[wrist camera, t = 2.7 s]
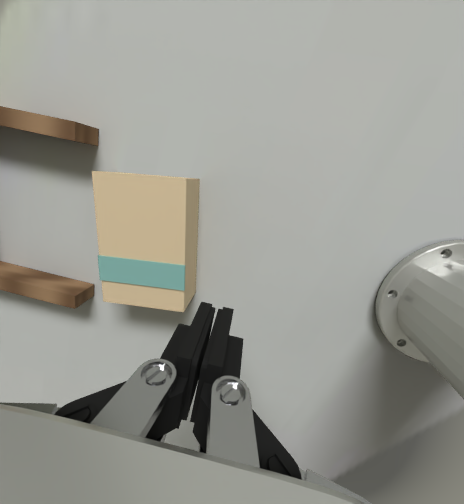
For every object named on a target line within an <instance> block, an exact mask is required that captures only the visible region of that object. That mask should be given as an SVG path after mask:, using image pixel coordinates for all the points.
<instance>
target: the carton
mask: <svg viewBox="0 0 464 504" xmlns="http://www.w3.org/2000/svg"><path fill="white" fill-rule="evenodd" d="M92 179H93V190H94V201H95V213H96V224H97V235H98V246H99V255H98V264H99V275H100V280H102V291H103V301H104V302H112V303H119V304H126V305H134V306H141V307H149V308H156V309H164V310H171V311H178V312H184V311H185V309H186V308H187V306H188V304H189V303H190V301H191V299H192V298H193V296H194V294H195V293H196V266H197V237H198V209H199V180H200V179H194V178H182V177H169V176H157V175H145V174H133V173H120V172H102V171H92Z"/></svg>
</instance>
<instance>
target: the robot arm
mask: <svg viewBox="0 0 464 504" xmlns="http://www.w3.org/2000/svg"><path fill="white" fill-rule="evenodd" d="M233 310H234V309H230V308H226V307H223V310H222V309H218V312H217V316H216V319H215V322H214V325H213V329H212V332H211V327H212V323H213V318H214V313H215V308H214V307H212V304H209V303H205V302H201V304H200V306H199V308H198V311H197V313H196V315H195V317H194V319H193V321H192V324H191V326H188V325H184V324H179V325H178V327H177V328H176V330H175V332H174V334H173V336H172V337H171V339H170V341H169V343H168V345H167V347H166V348H165V350H164V352H163V354H162V356H161V358H160V359H152V360H148V361H146V362H144V363H143V364H142V365H141V366H140V367H139V368H138V369H137V370H136V371H135V372H134V374H133V375H132V376H131V377H130V378H129V379H128V380H127V381H126V382H123V383H120V384H118V385H115V386H112V387H110V388H107V389H104V390H102V391H99V392H96V393H94V394H91V395H88V396H86V397H83V398H80V399H78V400H75V401H72V402H70V403H68V404H66V405H64V406H63V407H62V408H58V407H57V404H43V403H0V504H372V503H371V502H369V501H368V500H366V499H365V498H363V497H361V496H359V495H357V494H355V493H353V492H352V491H350V490H348V489H346V488H344V487H342V486H340V485H338V484H336V483H334V482H332V481H330V480H329V479H327V478H325V477H323V476H321V475H319V474H317V473H315V472H313V471H311V470H309V469H307V470H306V472H305V471H303V470H301V469H299V467H298V465H297V464H296V462H295V461H294V459H293V458H292V456H291V455H290V454H289V453H288V452H287V450H286V449H285V448H284V447H283V446H282V444H281V443H280V442H279V441H278V440H277V438H276V437H275V436H274V435H273V433H272V432H271V431H270V430H269V429H268V427H267V426H266V425H265V424H264V423H263V421H262V420H261V419H260V418H259V417H258V415H257V414H256V413H255V412H254V411H253V409H252V404H251V396H250V392H249V388H248V387H247V385H246V384H245V383H244V382H243V381H242V380H240V369H241V358H242V348H243V339H242V338H238V337H234V336H230V335H229V331H230V326H231V320H232V315H233ZM376 317H377V322H378V325H379V327H380V329H381V331H382V333H383V334H384V335H385V337H386V338H387V339H388V341H389V342H390V343H391V344H392V345H393V346H394V347H395V348H396V349H397V350H399V351H400V352H402V353H403V354H405V355H407V356H409V357H411V358H413V359H416V360H419V361H423V362H427V363H431V364H432V365H433V366H434V367H435V368H436V369H437V371H438V372H439V373H440V374H441V375H442V376H443V377H444V378H445V379H446V380H447V381H448V383H449V384H450V385H451V386H452V387H453V388H454V389H455V390H456V391H457V392H458V394H459V395H460V396H461V397H462V398H463V399H464V240H452V241H444V242H439V243H436V244H433V245H429V246H426V247H424V248H422V249H420V250H418V251H416V252H414V253H412V254H411V255H409V256H408V257H406V258H405V259H403V260H402V261H401V262H400V263H398V264H397V265H396V266H395V267H394V268H393V269H392V270H391V271H390V273H389V274H388V275H387V277H386V278H385V279H384V281H383V283H382V285H381V287H380V289H379V292H378V295H377V299H376ZM210 332H211V335H210ZM209 337H210V338H209ZM198 380H199V381H198ZM197 383H198V386H197ZM196 386H197V391H196V395H195V400H194V405H193V410H192V415H191V420H190V422H194V428H193V433H194V435H195V437H196V439H197V440H198V442H199V448H198V452H197V451H194V450H190V449H186V448H182V447H178V446H175V445H171V444H167V443H164V441H165V438H166V434H167V433H168V432H170V431H172V430H174V429H175V428H178V429H179V426H180V422H181V419H182V420H187V417H188V413H189V410H190V406H191V403H192V400H193V396H194V393H195V390H196Z"/></svg>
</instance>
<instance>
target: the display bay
mask: <svg viewBox="0 0 464 504" xmlns="http://www.w3.org/2000/svg"><path fill="white" fill-rule="evenodd" d="M0 125H1V126H6V127H11V128H15V129H20V130H25V131H30V132H34V133H39V134H44V135H48V136H53V137H58V138H62V139H67V140H72V141H77V142H81V143H86V144H91V145H96V146H98V130H99V129H97V128H94V127H90V126H87V125H84V124H81V123H77V122H74V121H69V120H64V119H59V118H54V117H50V116H45V115H40V114H35V113H30V112H26V111H21V110H16V109H11V108H6V107H1V106H0ZM0 290H3V291H7V292H11V293H15V294H19V295H23V296H27V297H31V298H35V299H38V300H42V301H46V302H50V303H54V304H58V305H62V306H66V307H70V308H74V309H75V308H77V307H78V306H80V305H81V304H83V303H84V302H86V301H87V300H88V299H90V298H91V297H93V296H94V284H90V283H86V282H82V281H78V280H74V279H70V278H66V277H62V276H58V275H54V274H50V273H46V272H42V271H38V270H34V269H30V268H26V267H22V266H18V265H14V264H10V263H6V262H2V261H0Z"/></svg>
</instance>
